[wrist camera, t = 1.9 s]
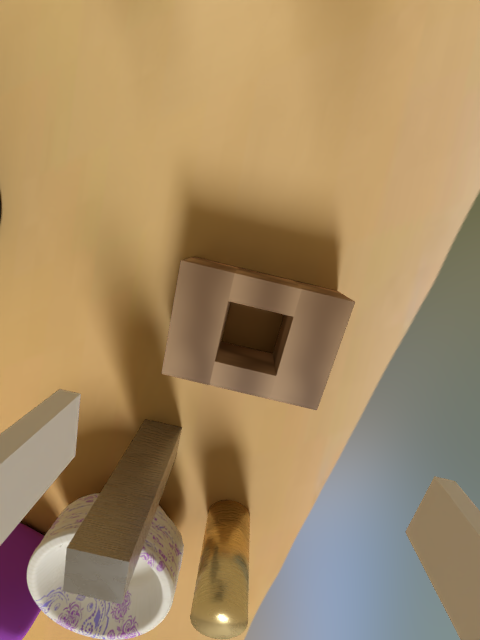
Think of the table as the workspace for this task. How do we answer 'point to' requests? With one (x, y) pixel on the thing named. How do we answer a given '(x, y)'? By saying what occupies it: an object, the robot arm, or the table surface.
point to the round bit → (223, 573)
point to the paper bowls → (99, 615)
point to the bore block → (245, 363)
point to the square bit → (121, 517)
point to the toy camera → (17, 583)
